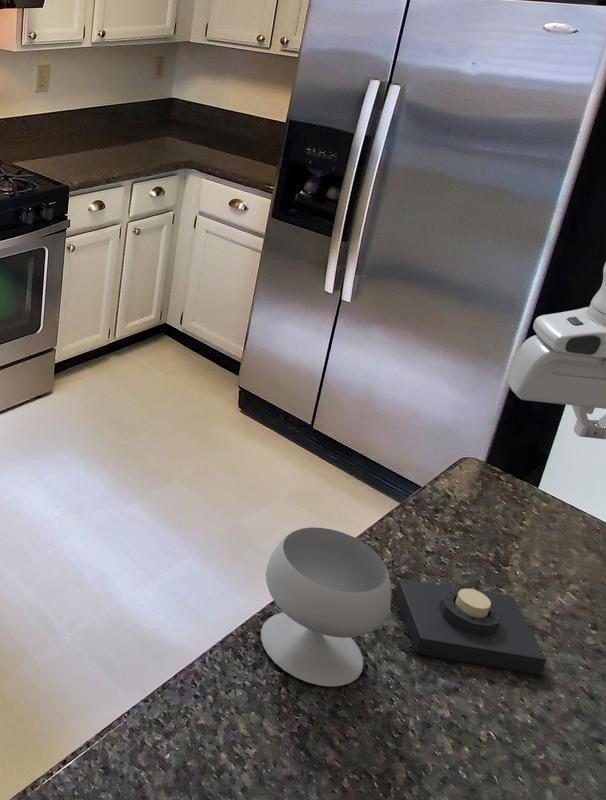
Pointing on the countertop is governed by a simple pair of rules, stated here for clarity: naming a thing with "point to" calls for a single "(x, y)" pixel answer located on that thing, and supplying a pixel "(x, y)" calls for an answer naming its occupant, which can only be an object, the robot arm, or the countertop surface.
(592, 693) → the countertop surface
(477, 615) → the push button switch
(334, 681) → the chalice
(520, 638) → the push button plate
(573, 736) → the countertop surface
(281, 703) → the countertop surface
